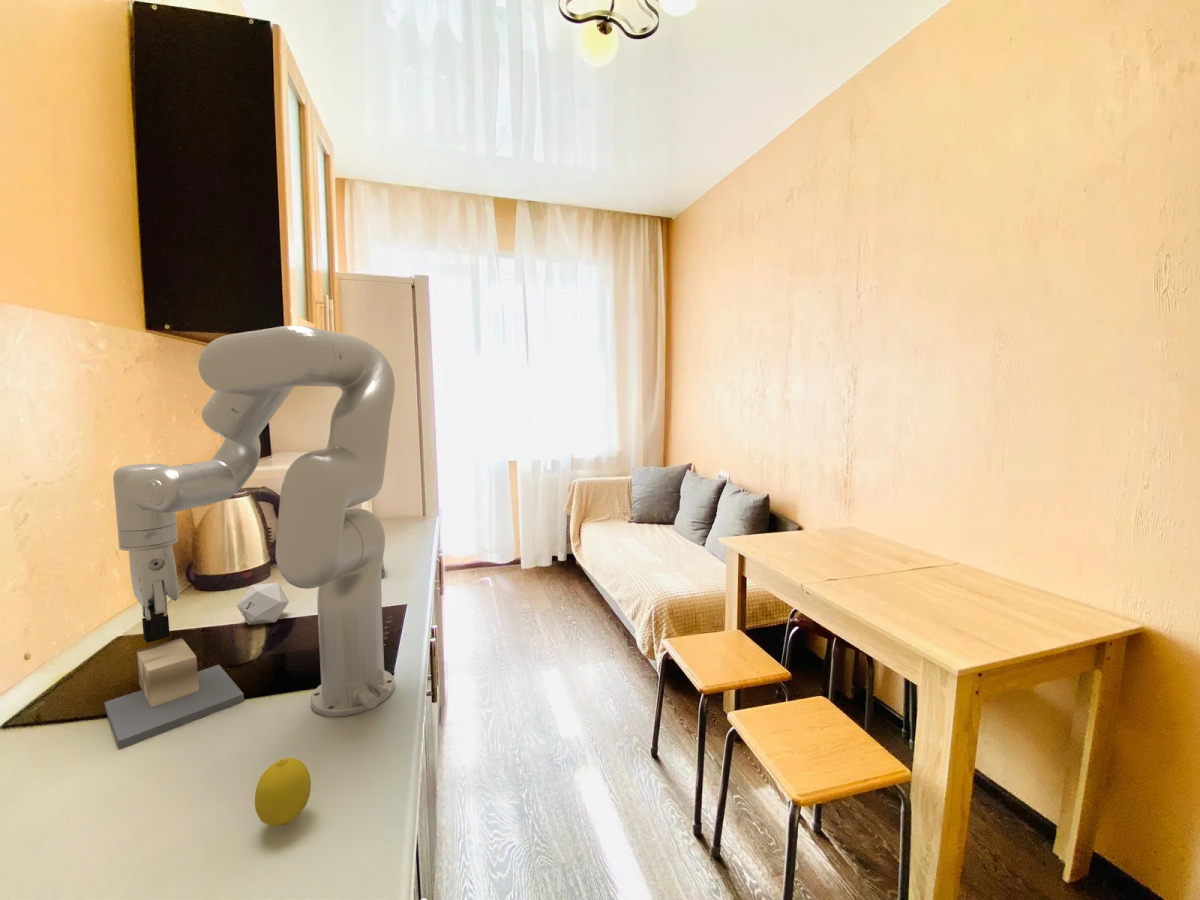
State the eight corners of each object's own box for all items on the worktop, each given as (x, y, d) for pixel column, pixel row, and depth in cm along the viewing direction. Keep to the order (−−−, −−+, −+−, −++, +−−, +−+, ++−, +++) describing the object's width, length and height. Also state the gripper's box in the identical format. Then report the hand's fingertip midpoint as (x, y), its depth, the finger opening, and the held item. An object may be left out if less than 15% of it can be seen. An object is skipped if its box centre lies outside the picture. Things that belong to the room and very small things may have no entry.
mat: (244, 700, 82) (243, 693, 82) (119, 748, 71) (118, 741, 71) (219, 670, 91) (219, 664, 91) (105, 709, 80) (104, 702, 80)
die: (238, 622, 113) (223, 598, 106) (273, 592, 119) (260, 567, 113) (266, 639, 111) (253, 616, 104) (300, 608, 118) (289, 584, 111)
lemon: (245, 835, 57) (241, 770, 56) (290, 799, 62) (287, 739, 61) (279, 851, 55) (275, 783, 54) (323, 812, 60) (320, 750, 60)
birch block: (184, 670, 89) (199, 690, 83) (139, 684, 85) (151, 707, 78) (181, 637, 89) (196, 656, 82) (136, 650, 84) (148, 671, 78)
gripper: (187, 539, 84) (195, 644, 86) (167, 525, 93) (174, 619, 95) (126, 549, 78) (136, 661, 80) (111, 532, 87) (120, 633, 89)
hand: (157, 638), depth 87 cm, fingers closed
